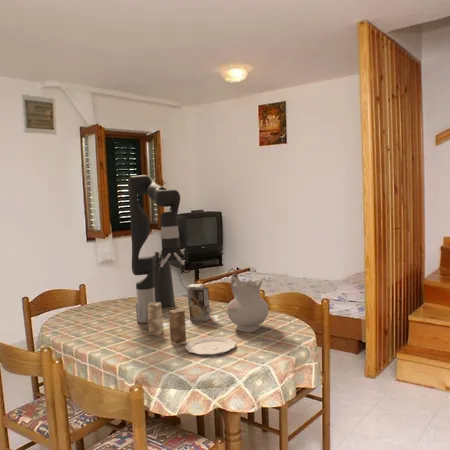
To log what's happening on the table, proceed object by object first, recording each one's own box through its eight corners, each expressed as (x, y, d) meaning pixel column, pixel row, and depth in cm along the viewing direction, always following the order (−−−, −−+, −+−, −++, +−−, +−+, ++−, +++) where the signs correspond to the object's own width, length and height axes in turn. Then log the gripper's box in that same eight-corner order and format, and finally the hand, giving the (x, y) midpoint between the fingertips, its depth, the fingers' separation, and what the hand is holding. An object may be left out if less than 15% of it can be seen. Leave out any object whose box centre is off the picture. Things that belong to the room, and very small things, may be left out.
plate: (195, 361, 176) (195, 357, 176) (179, 345, 195) (178, 342, 195) (244, 351, 184) (244, 347, 184) (223, 337, 203) (223, 333, 203)
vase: (179, 303, 267) (176, 254, 265) (161, 309, 257) (158, 258, 255) (164, 300, 276) (162, 253, 274) (146, 305, 266) (143, 256, 264)
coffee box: (210, 318, 234) (209, 287, 233) (205, 321, 228) (204, 289, 227) (194, 317, 237) (193, 286, 236) (189, 320, 232) (187, 289, 230)
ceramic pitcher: (216, 330, 216) (211, 279, 212) (243, 317, 230) (238, 269, 226) (252, 339, 201) (247, 284, 197) (278, 325, 215) (273, 273, 211)
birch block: (149, 334, 211) (147, 305, 210) (153, 331, 216) (151, 302, 215) (159, 334, 210) (157, 305, 209) (163, 331, 215) (161, 302, 214)
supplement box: (205, 305, 260) (204, 283, 259) (200, 309, 253) (199, 286, 252) (193, 305, 262) (192, 283, 261) (188, 308, 255) (186, 286, 254)
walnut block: (175, 345, 195) (173, 312, 194) (170, 342, 199) (168, 310, 198) (186, 342, 198) (184, 310, 197) (181, 339, 202) (179, 308, 201)
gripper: (155, 238, 188) (158, 277, 189) (188, 236, 193) (190, 273, 195) (151, 237, 195) (154, 275, 196) (183, 234, 200) (185, 271, 202)
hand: (172, 274), depth 196 cm, fingers open, 8 cm apart
